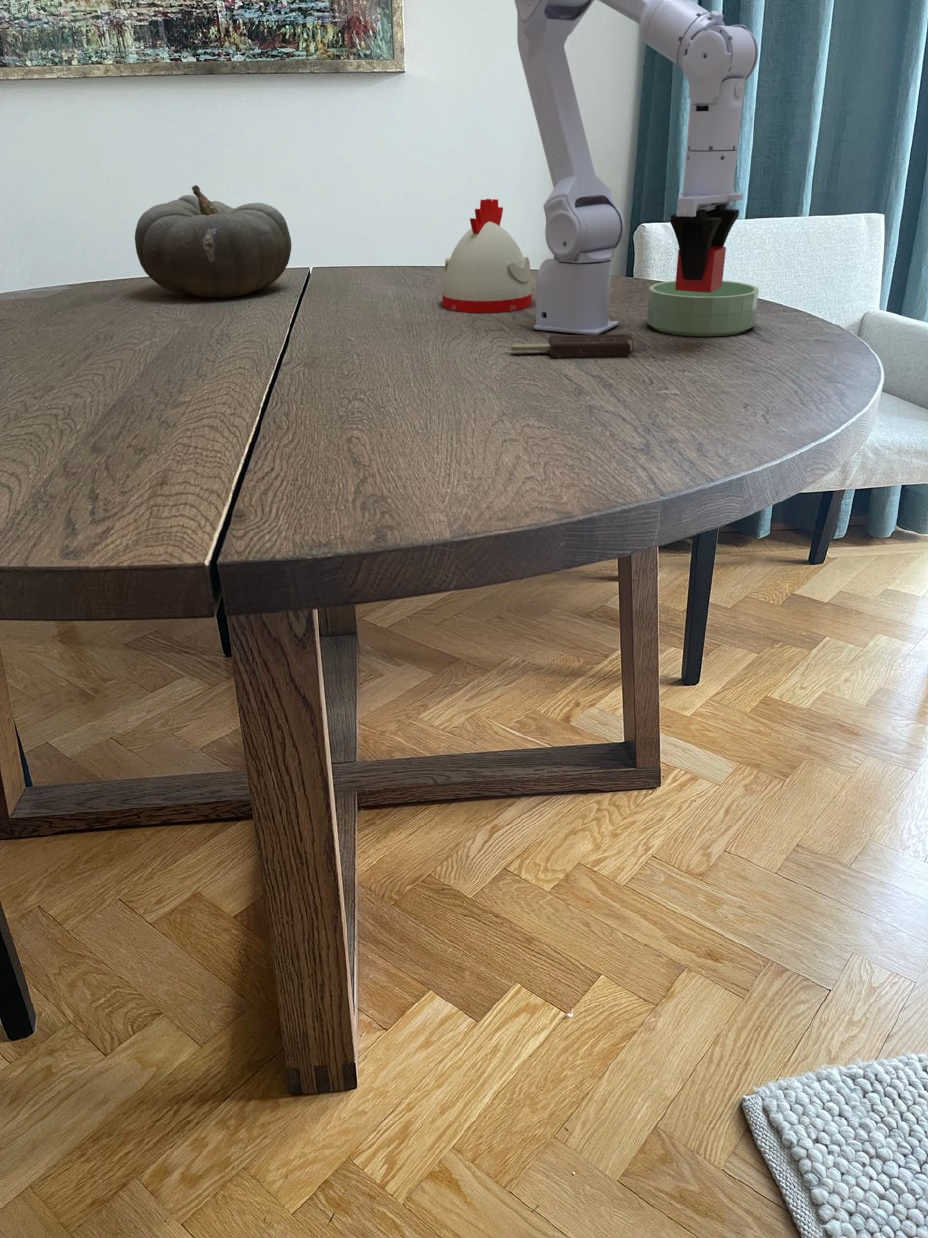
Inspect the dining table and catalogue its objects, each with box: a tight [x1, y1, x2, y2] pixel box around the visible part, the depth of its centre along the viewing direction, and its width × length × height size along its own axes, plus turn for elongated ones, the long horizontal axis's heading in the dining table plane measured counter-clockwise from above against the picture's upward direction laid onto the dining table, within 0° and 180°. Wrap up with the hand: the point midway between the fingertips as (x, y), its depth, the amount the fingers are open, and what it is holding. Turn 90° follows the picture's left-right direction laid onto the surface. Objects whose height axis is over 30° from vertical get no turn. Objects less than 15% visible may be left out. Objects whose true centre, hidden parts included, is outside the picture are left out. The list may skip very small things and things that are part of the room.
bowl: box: [646, 280, 760, 337], centre depth 126 cm, size 14×14×5 cm
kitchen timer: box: [441, 198, 533, 314], centre depth 141 cm, size 14×14×15 cm
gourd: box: [134, 184, 292, 299], centre depth 157 cm, size 25×25×17 cm
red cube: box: [675, 246, 727, 293], centre depth 112 cm, size 4×4×5 cm
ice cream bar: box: [510, 333, 634, 359], centre depth 114 cm, size 5×2×15 cm
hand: (699, 276), depth 112 cm, fingers closed on red cube, 4 cm apart
